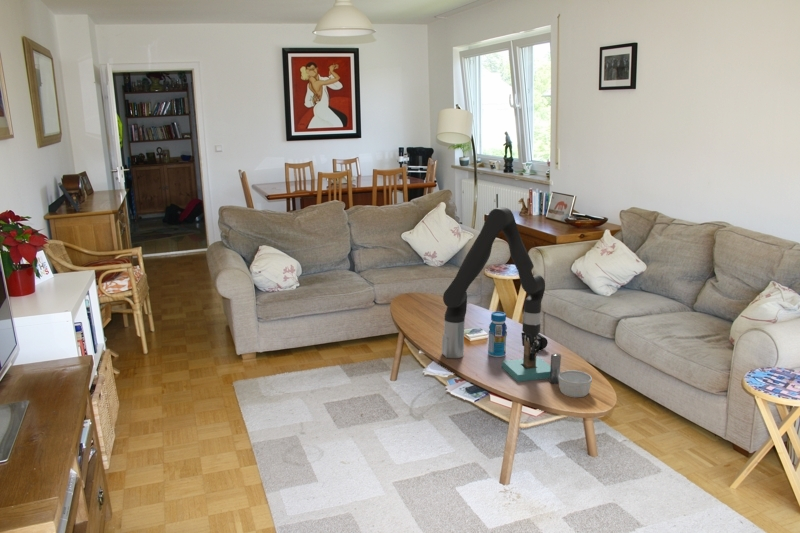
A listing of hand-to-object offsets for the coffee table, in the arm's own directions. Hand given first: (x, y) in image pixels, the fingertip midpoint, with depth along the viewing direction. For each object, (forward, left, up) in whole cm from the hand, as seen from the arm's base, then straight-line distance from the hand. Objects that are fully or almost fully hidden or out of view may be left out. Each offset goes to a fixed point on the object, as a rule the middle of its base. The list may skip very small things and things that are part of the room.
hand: (529, 358), depth 290 cm
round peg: (+6, -12, -6) cm, 15 cm away
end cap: (+17, +27, -7) cm, 33 cm away
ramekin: (+9, -23, -7) cm, 26 cm away
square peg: (0, 0, -4) cm, 4 cm away
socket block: (0, 0, -6) cm, 6 cm away
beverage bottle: (-5, +23, -7) cm, 24 cm away
